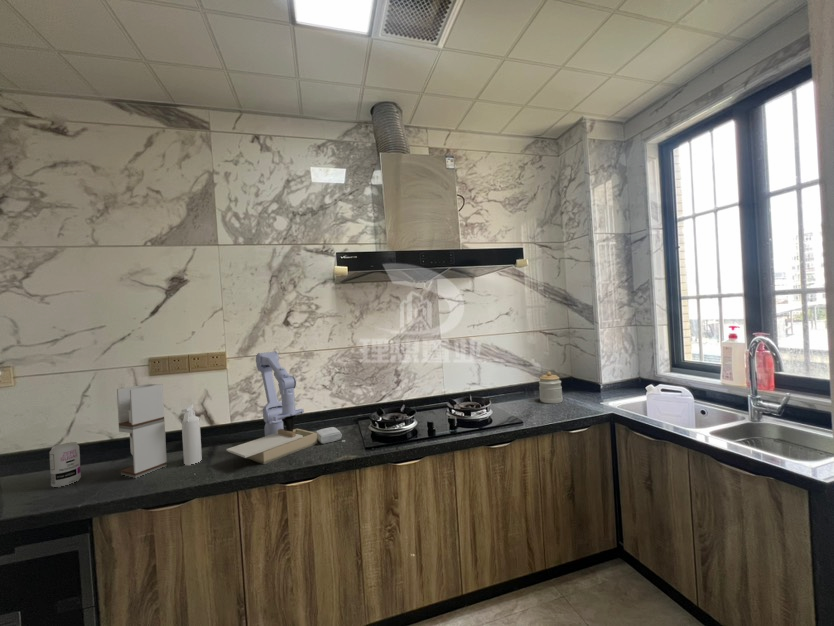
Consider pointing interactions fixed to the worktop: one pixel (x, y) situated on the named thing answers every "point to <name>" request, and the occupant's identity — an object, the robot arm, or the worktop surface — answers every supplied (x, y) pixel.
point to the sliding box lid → (264, 443)
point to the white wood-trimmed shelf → (143, 427)
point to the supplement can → (65, 464)
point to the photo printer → (328, 435)
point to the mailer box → (286, 447)
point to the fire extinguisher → (191, 436)
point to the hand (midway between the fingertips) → (290, 432)
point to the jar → (550, 389)
